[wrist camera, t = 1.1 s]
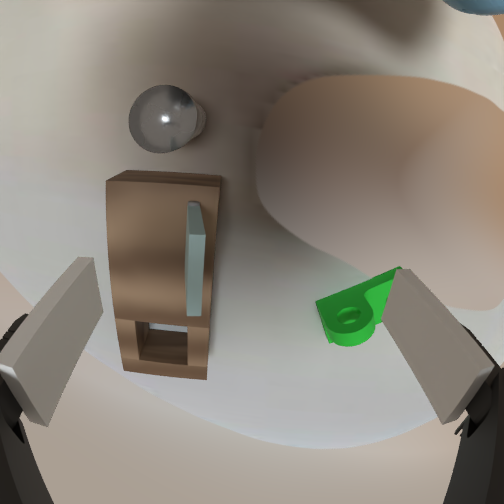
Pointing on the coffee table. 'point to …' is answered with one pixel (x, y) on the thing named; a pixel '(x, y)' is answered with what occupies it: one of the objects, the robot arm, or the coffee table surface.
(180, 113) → the grey cylinder
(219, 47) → the coffee table surface
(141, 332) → the block
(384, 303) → the mechanical part
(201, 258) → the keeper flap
